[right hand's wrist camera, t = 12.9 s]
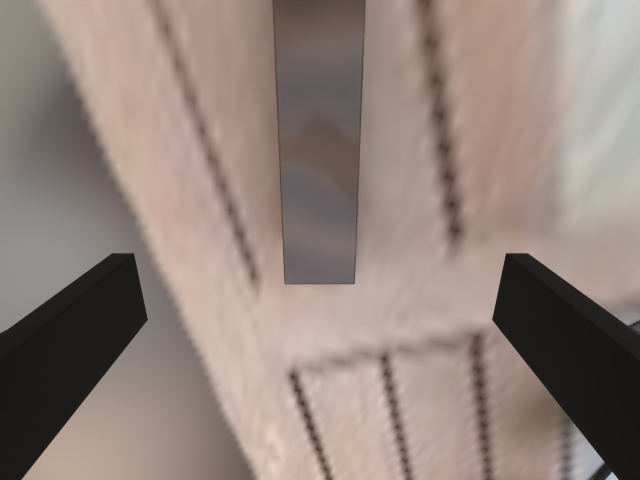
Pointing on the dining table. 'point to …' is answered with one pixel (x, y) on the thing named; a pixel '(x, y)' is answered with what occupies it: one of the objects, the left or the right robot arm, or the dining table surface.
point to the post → (319, 135)
